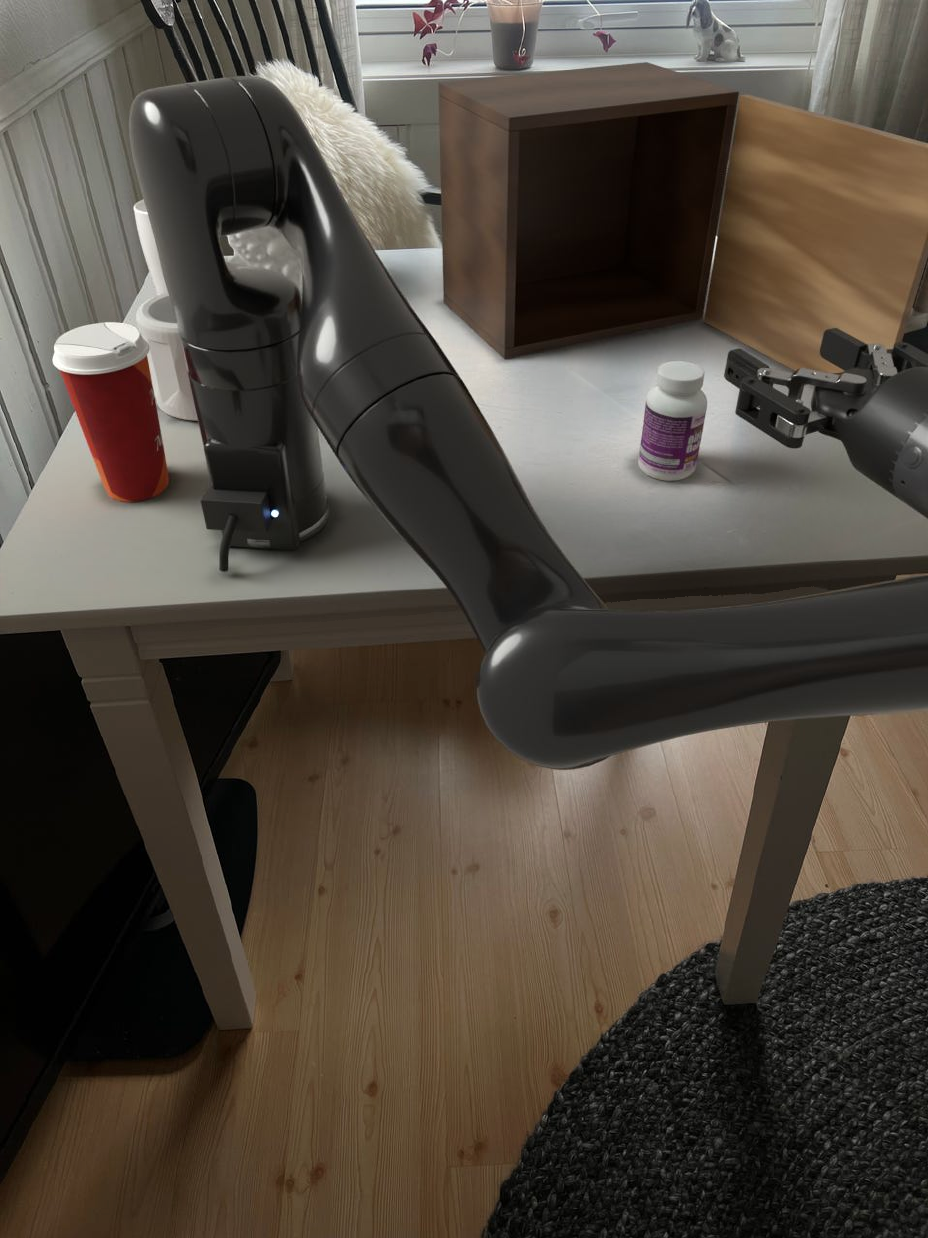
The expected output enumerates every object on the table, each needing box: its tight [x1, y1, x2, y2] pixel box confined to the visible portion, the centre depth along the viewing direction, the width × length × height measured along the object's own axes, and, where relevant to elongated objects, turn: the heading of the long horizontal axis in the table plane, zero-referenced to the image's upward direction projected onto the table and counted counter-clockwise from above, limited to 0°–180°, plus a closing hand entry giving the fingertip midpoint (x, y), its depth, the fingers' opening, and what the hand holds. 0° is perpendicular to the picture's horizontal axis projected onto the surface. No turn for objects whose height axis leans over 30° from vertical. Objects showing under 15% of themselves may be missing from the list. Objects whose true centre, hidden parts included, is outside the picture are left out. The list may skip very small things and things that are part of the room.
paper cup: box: [52, 321, 170, 503], centre depth 81 cm, size 8×8×14 cm
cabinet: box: [437, 61, 740, 360], centre depth 107 cm, size 18×26×24 cm
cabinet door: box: [703, 93, 928, 373], centre depth 96 cm, size 7×26×24 cm, turn 28°
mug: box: [135, 292, 198, 422], centre depth 96 cm, size 14×11×10 cm
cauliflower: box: [224, 226, 303, 298], centre depth 118 cm, size 19×20×20 cm
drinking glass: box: [133, 198, 168, 296], centre depth 105 cm, size 7×7×15 cm
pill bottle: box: [637, 360, 708, 482], centre depth 84 cm, size 5×5×10 cm
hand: (779, 350), depth 68 cm, fingers open, 8 cm apart
